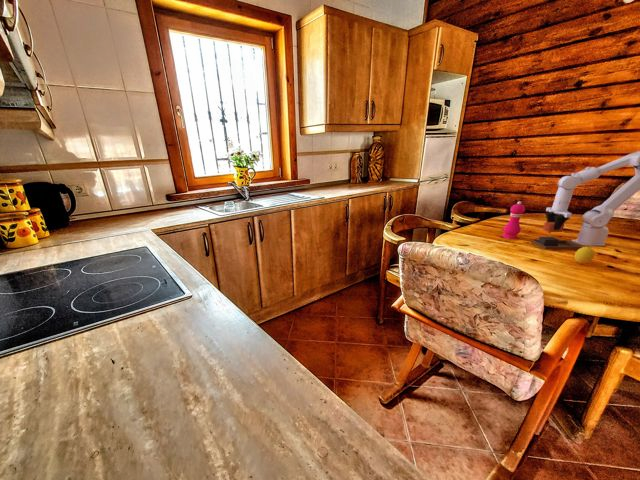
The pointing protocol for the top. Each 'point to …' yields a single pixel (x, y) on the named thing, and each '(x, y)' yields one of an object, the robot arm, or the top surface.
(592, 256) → the lemon
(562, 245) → the backing tray
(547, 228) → the pad
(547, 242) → the pad
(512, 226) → the pepper mill
